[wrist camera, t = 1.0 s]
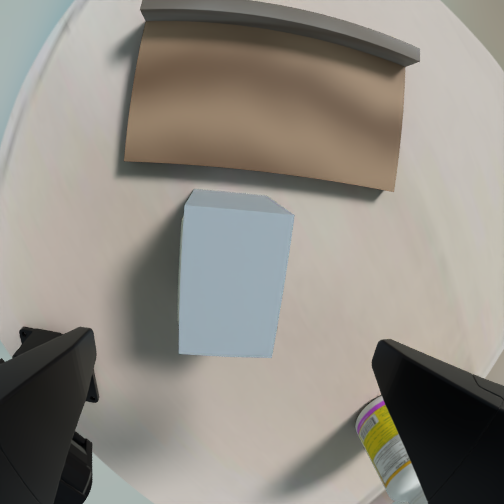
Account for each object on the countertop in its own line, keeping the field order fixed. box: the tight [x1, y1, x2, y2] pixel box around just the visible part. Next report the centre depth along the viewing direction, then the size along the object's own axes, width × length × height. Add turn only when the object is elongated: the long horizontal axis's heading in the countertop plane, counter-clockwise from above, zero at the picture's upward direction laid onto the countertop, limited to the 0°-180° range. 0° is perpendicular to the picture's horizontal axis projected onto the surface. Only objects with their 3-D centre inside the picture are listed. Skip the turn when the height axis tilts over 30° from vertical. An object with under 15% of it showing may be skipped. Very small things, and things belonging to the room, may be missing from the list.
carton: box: [177, 189, 295, 358], centre depth 17 cm, size 5×7×7 cm
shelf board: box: [124, 0, 420, 192], centre depth 16 cm, size 10×17×3 cm, turn 83°
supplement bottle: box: [355, 396, 428, 504], centre depth 21 cm, size 7×7×13 cm
